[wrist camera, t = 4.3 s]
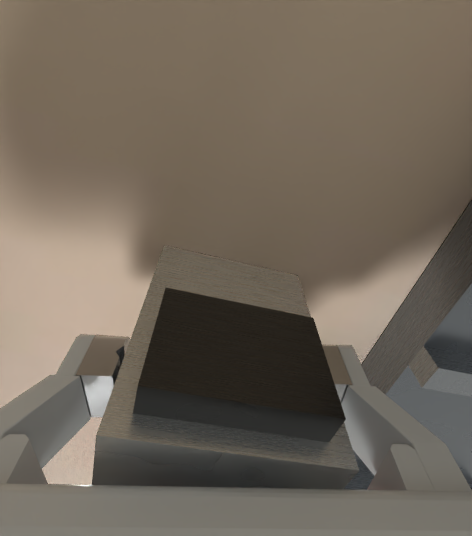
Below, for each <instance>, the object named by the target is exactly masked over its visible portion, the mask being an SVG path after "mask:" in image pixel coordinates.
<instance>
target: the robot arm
mask: <svg viewBox="0 0 472 536" xmlns="http://www.w3.org/2000/svg"><path fill="white" fill-rule="evenodd" d="M129 342H130V338H129V337H122V336H107V335H87V334H80V335H79V336H77V337H76V339H75V341H74V342H73V344H72V346H71V348H70V349H69V351H68V353H67V355H66V357H65V358H64V360H63V362H62V364H61V366H60V367H59V369H58V371H57V373H56V374H55V375H49V376H48V377H46V378H45V379H43V380H42V381H40V382H39V383H37V384H36V385H34V386H33V387H31V388H30V389H28V390H27V391H25V392H24V393H22V394H21V395H19V396H18V397H16V398H15V399H14V400H12V401H11V402H9V403H8V404H6V405H5V406H3V407H2V408H0V536H472V490H471V488H470V486H469V484H468V483H467V481H466V479H465V477H464V476H463V474H462V472H461V470H460V468H459V467H458V465H457V463H456V461H455V460H454V458H453V456H452V454H451V453H450V451H449V449H448V447H447V446H446V444H445V443H444V442H442V441H441V440H440V439H439V438H438V437H436V436H435V435H434V434H433V433H431V432H430V431H429V430H428V429H427V428H425V427H424V426H423V425H422V424H420V423H419V422H418V421H417V420H416V419H414V418H413V417H412V416H411V415H410V414H408V413H407V412H406V411H405V410H403V409H402V408H401V407H400V406H399V405H397V404H396V403H395V402H394V401H393V400H391V399H390V398H389V397H388V396H386V395H385V394H384V393H383V392H382V391H380V390H379V389H378V388H377V387H376V386H370V384H369V381H368V379H367V377H366V375H365V372H364V370H363V368H362V366H361V363H360V361H359V359H358V357H357V354H356V352H355V350H354V348H353V347H352V346H351V345H322V347H323V350H324V353H325V356H326V359H327V362H328V365H329V368H330V371H331V374H332V378H333V381H334V384H335V387H336V390H337V393H338V396H339V399H340V402H341V405H342V408H343V412H344V415H345V418H346V420H345V421H344V423H345V427H346V430H347V433H348V436H349V439H350V442H351V446H352V449H353V450H354V451H355V453H356V454H357V455H358V456H359V458H360V459H361V460H362V461H363V462H364V464H365V465H366V466H367V467H368V469H369V470H370V471H371V472H372V473H373V475H374V478H373V480H372V481H371V483H370V485H369V487H368V488H367V490H353V489H296V488H240V487H179V486H120V485H65V484H48V483H47V480H46V478H45V476H44V473H43V471H42V468H43V467H44V466H45V465H46V464H47V463H48V462H49V460H50V459H51V458H52V457H53V456H54V455H55V454H56V453H57V452H58V451H59V450H60V449H61V448H62V447H63V446H64V445H65V444H66V443H67V442H68V441H69V440H70V439H71V438H72V437H73V436H74V435H75V434H76V433H77V432H78V431H79V430H80V429H81V428H82V427H83V426H84V425H85V424H86V423H87V422H88V421H89V420H90V417H103V415H104V412H105V409H106V407H107V404H108V401H109V398H110V395H111V393H112V390H113V387H114V384H115V381H116V379H117V376H118V373H119V370H120V367H121V365H122V362H123V359H124V356H125V353H126V351H127V348H128V345H129Z"/></svg>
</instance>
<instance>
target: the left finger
mask: <svg viewBox="0 0 472 536" xmlns="http://www.w3.org/2000/svg"><path fill="white" fill-rule="evenodd" d="M345 420H346V418H345V415H344V412H343V408H342V405H341V402H340V399H339V396H338V393H337V390H336V387H335V384H334V381H333V378H332V374H331V371H330V368H329V365H328V362H327V359H326V356H325V353H324V350H323V347H322V344H321V340H320V337H319V334H318V331H317V328H316V325H315V322H314V319H313V318H312V317H311V316H310V313H309V309H308V306H307V303H306V300H305V297H304V294H303V290H302V287H301V284H300V281H299V278H298V275H295V274H291V273H286V272H282V271H277V270H273V269H268V268H264V267H260V266H255V265H251V264H246V263H242V262H237V261H233V260H228V259H224V258H220V257H215V256H211V255H206V254H202V253H197V252H193V251H188V250H184V249H180V248H175V247H171V246H166V245H164V247H163V250H162V253H161V256H160V258H159V261H158V264H157V267H156V270H155V272H154V275H153V278H152V281H151V284H150V286H149V289H148V292H147V295H146V298H145V300H144V303H143V306H142V309H141V312H140V314H139V317H138V320H137V323H136V325H135V328H134V331H133V334H132V337H131V339H130V342H129V345H128V348H127V351H126V353H125V356H124V359H123V362H122V365H121V367H120V370H119V373H118V376H117V379H116V381H115V384H114V387H113V390H112V393H111V395H110V398H109V401H108V404H107V407H106V409H105V412H104V415H103V418H102V421H101V423H100V426H99V429H98V432H97V435H96V444H95V456H94V468H93V479H92V485H120V486H179V487H240V488H296V489H344V488H345V487H346V485H347V484H348V483H349V482H350V481H351V480H352V479H353V477H354V476H355V475H356V474H357V473H358V472H359V468H358V465H357V461H356V458H355V455H354V452H353V449H352V446H351V442H350V439H349V436H348V433H347V430H346V427H345V423H344V421H345Z"/></svg>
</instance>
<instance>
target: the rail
mask: <svg viewBox="0 0 472 536" xmlns="http://www.w3.org/2000/svg"><path fill="white" fill-rule="evenodd" d="M361 366H362V368H363V370H364V372H365V375H366V377H367V379H368V381H369V384H370V386H376V387H377V388H378V389H379V390H380V391H382V392H383V393H384V394H385V395H386V396H388V397H389V398H390V399H391V400H393V401H394V402H395V403H396V404H397V405H399V406H400V407H401V408H402V409H403V410H405V411H406V412H407V413H408V414H410V415H411V416H412V417H413V418H414V419H416V420H417V421H418V422H419V423H420V424H422V425H423V426H424V427H425V428H427V429H428V430H429V431H430V432H431V433H433V434H434V435H435V436H436V437H438V438H439V439H440V440H441V441H442V442H444V443H445V444H446V446H447V447H448V449H449V451H450V453H451V454H452V456H453V458H454V460H455V461H456V463H457V465H458V467H459V468H460V470H461V472H462V474H463V476H464V477H465V479H466V481H467V483H468V484H469V486H470V488H471V490H472V201H471V202H470V204H469V205H468V207H467V208H466V210H465V211H464V213H463V214H462V216H461V217H460V219H459V220H458V222H457V223H456V225H455V226H454V228H453V229H452V231H451V232H450V234H449V235H448V237H447V238H446V240H445V241H444V243H443V244H442V246H441V247H440V249H439V250H438V252H437V253H436V255H435V256H434V258H433V259H432V260H431V262H430V263H429V265H428V266H427V268H426V269H425V271H424V272H423V274H422V275H421V277H420V278H419V280H418V281H417V283H416V284H415V286H414V287H413V289H412V290H411V292H410V293H409V295H408V296H407V298H406V299H405V301H404V302H403V304H402V305H401V307H400V308H399V310H398V311H397V313H396V314H395V316H394V317H393V319H392V320H391V322H390V323H389V325H388V326H387V328H386V329H385V331H384V332H383V334H382V335H381V337H380V338H379V340H378V341H377V343H376V344H375V346H374V347H373V349H372V350H371V352H370V353H369V355H368V356H367V358H366V359H365V361H364V362H363V364H362V365H361ZM353 452H354V455H355V458H356V461H357V465H358V468H359V472H358V473H357V474H356V475H355V476H354V477H353V479H352V480H351V481H350V482H349V483H348V484H347V485H346V487H345V488H344V489H353V490H367V488H368V487H369V485H370V483H371V481H372V480H373V478H374V475H373V473H372V472H371V471H370V470H369V469H368V467H367V466H366V465H365V464H364V462H363V461H362V460H361V459H360V458H359V456H358V455H357V454H356V453H355V451H354V450H353Z"/></svg>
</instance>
